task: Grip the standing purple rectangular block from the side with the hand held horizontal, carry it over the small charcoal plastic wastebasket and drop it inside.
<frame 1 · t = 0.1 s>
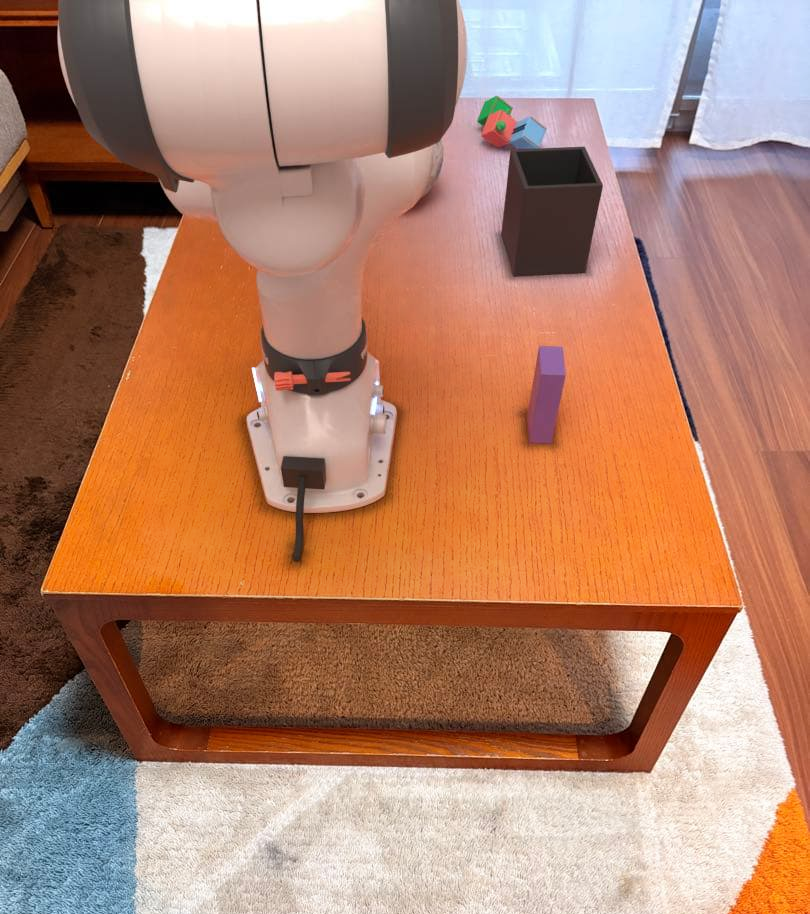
hand: (288, 2, 87), 39 cm above the table, tool pointing down, fingers open, 8 cm apart
purple rectangular block: (539, 429, 103), on the table
puzzle ball: (396, 199, 136), on the table
trash can: (542, 253, 126), on the table
mug: (282, 228, 131), on the table
building blocks: (509, 144, 148), on the table
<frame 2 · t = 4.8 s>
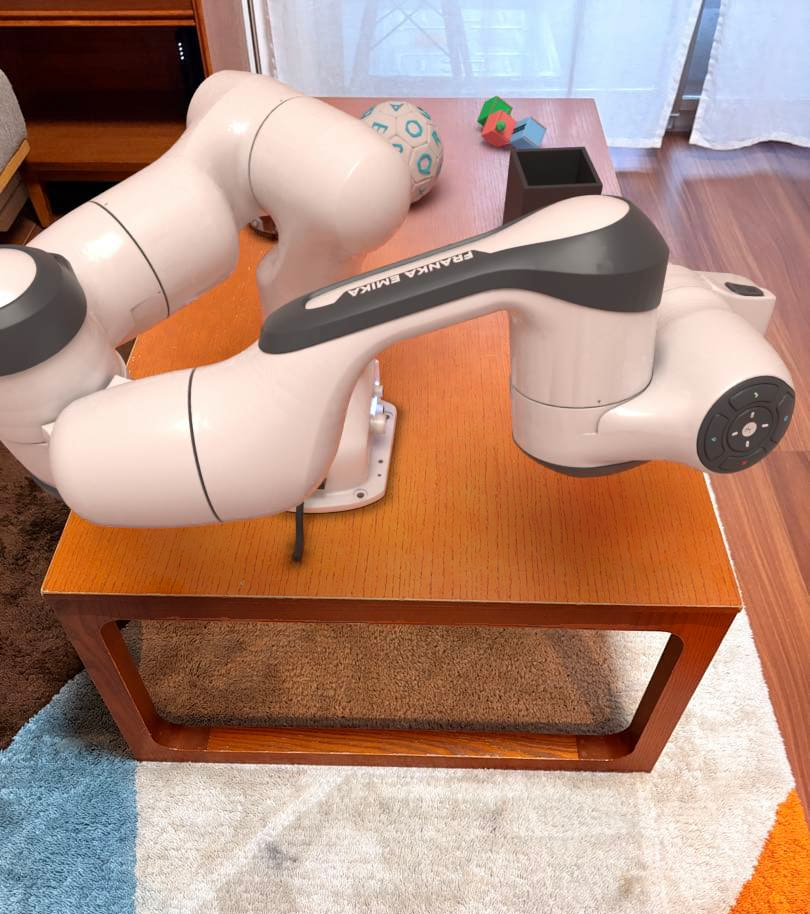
hand: (610, 265, 75), 29 cm above the table, tool horizontal, fingers open, 8 cm apart
nothing on the table moved.
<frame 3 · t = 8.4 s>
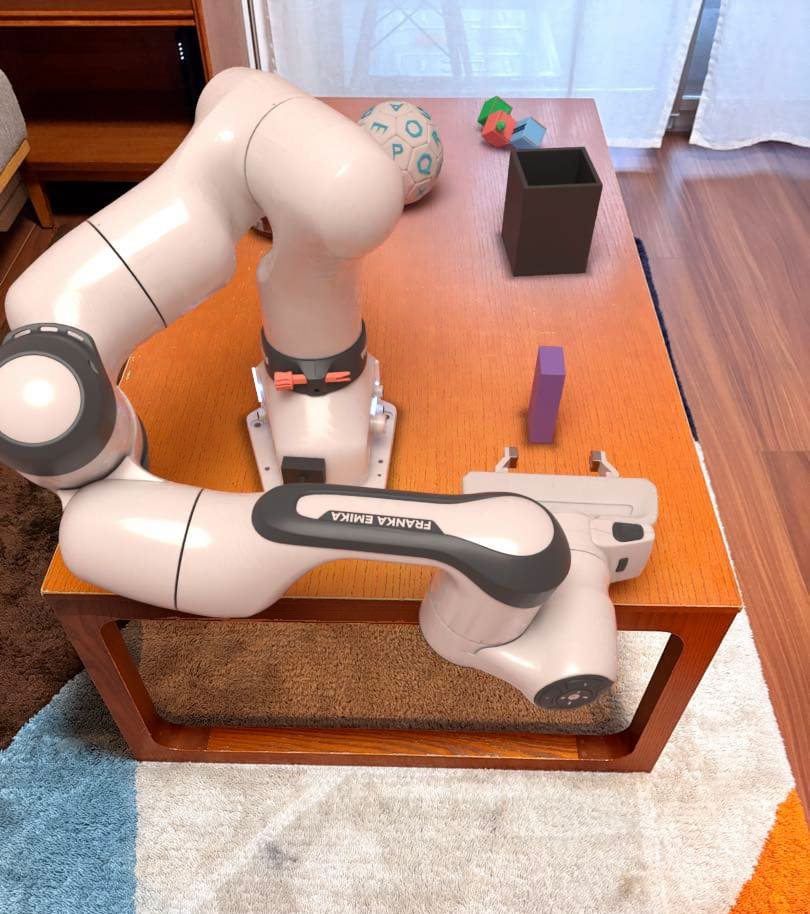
hand: (553, 452, 90), 7 cm above the table, tool horizontal, fingers open, 8 cm apart
nothing on the table moved.
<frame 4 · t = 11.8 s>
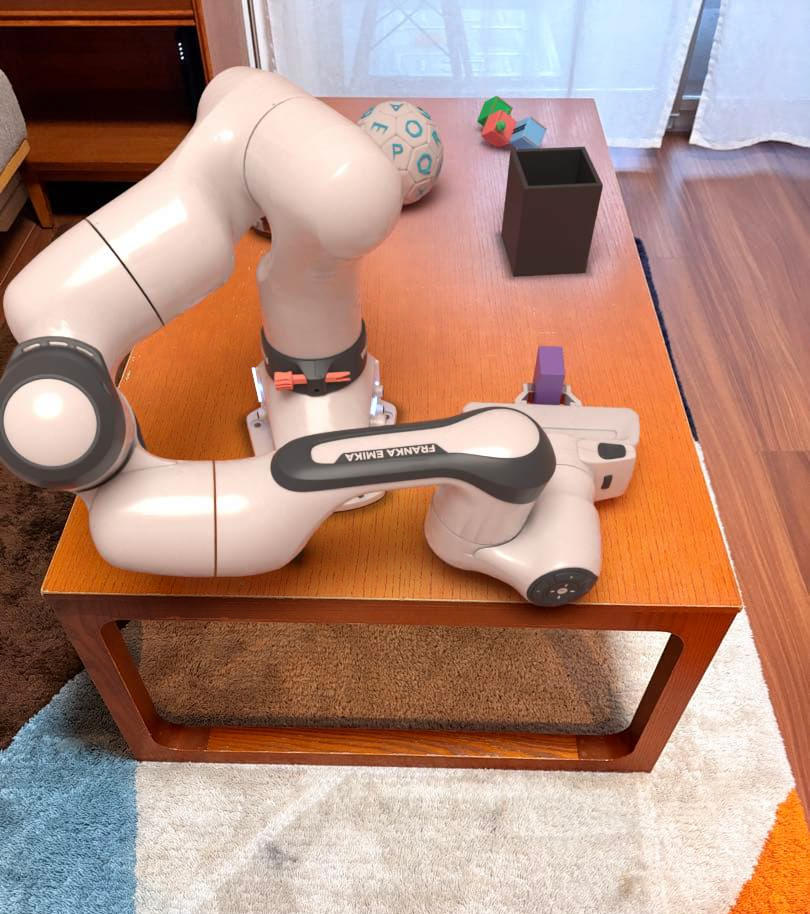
hand: (545, 387, 98), 6 cm above the table, tool horizontal, fingers closed on purple rectangular block, 3 cm apart
purple rectangular block: (539, 429, 103), on the table, touching gripper
everything else where it was.
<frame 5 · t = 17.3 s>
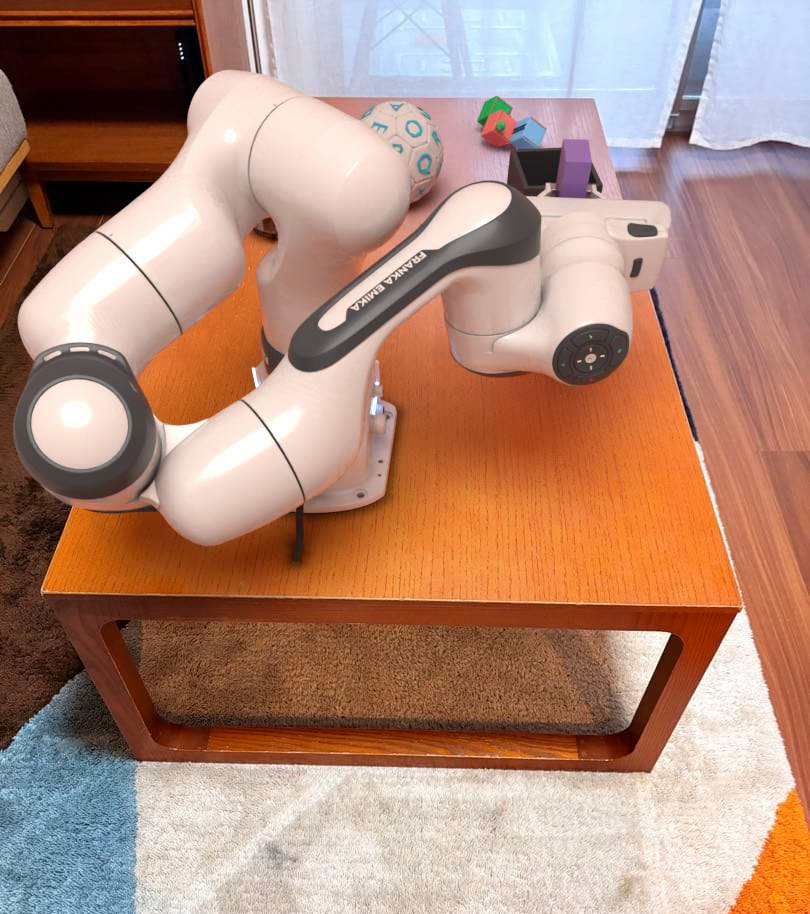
hand: (569, 189, 93), 24 cm above the table, tool horizontal, fingers closed on purple rectangular block, 3 cm apart
purple rectangular block: (561, 242, 97), point 18 cm above the table, touching gripper
everything else where it was.
when the fingers open (19 cm above the table, at t = 23.1 s): purple rectangular block drops 12 cm, resting on trash can.
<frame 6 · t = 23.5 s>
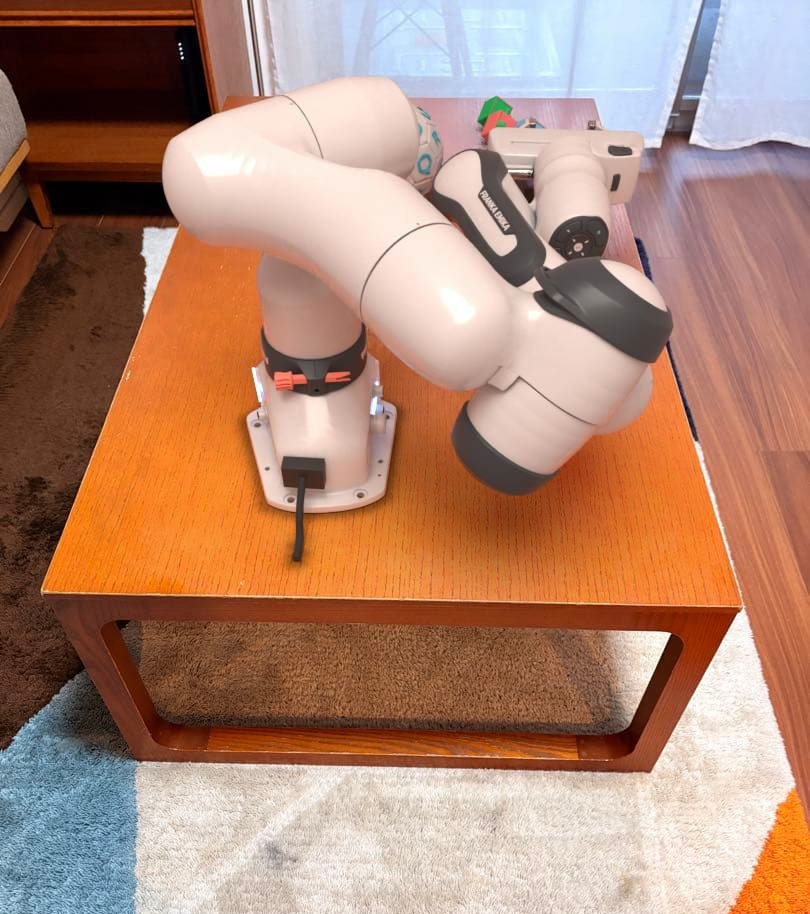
hand: (561, 124, 112), 19 cm above the table, tool horizontal, fingers open, 7 cm apart
purple rectangular block: (542, 247, 125), point 1 cm above the table, tilted 15°, touching trash can
everything else where it was.
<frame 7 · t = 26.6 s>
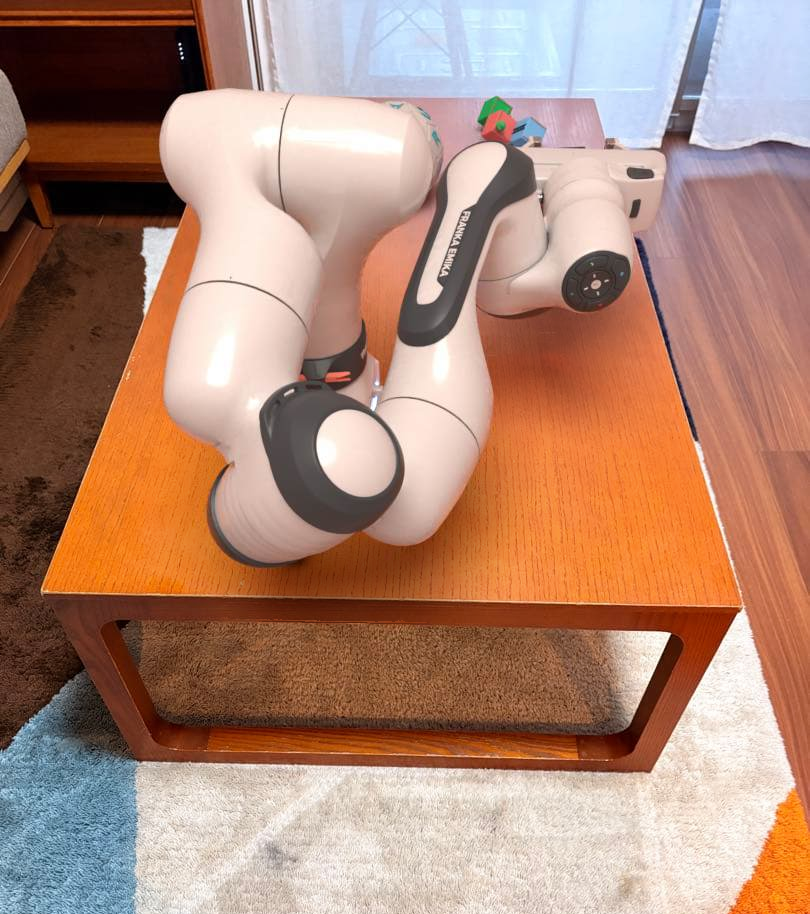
hand: (572, 142, 101), 23 cm above the table, tool horizontal, fingers open, 8 cm apart
nothing on the table moved.
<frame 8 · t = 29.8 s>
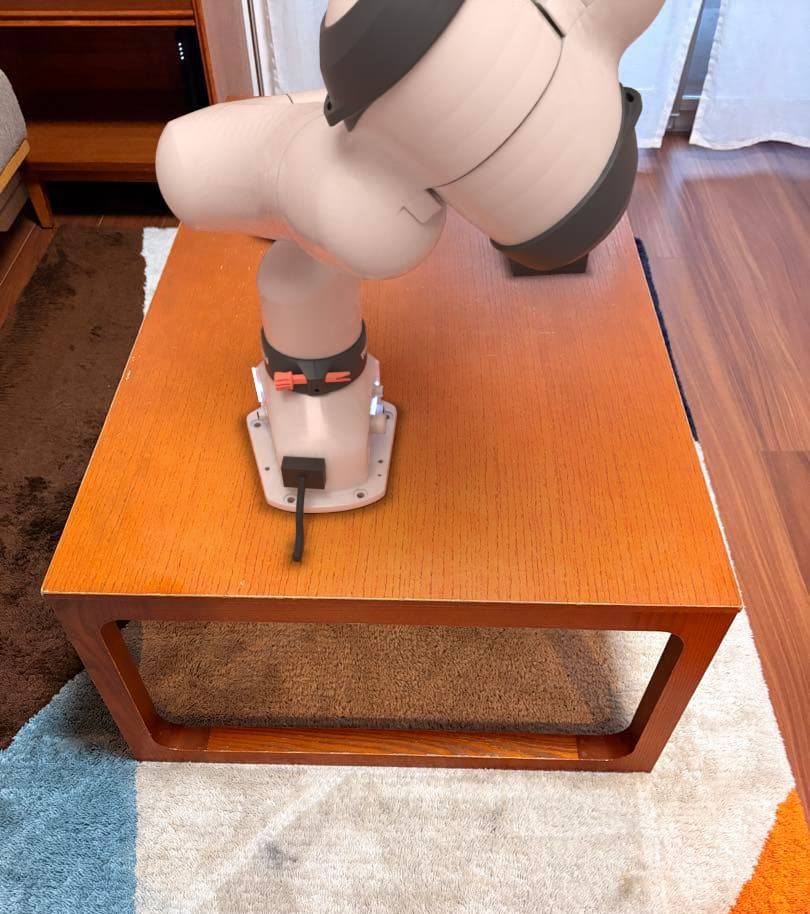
hand: (520, 54, 90), 34 cm above the table, tool pointing down, fingers open, 8 cm apart
nothing on the table moved.
at the end: purple rectangular block inside the target area in the trash can (0.1 cm from its centre), point 1.2 cm above the trash can's base; the gripper is holding nothing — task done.
